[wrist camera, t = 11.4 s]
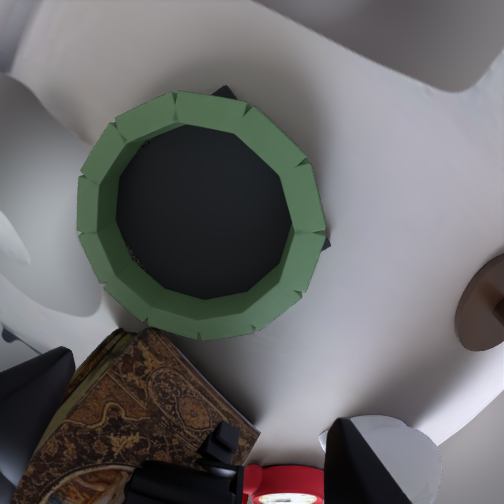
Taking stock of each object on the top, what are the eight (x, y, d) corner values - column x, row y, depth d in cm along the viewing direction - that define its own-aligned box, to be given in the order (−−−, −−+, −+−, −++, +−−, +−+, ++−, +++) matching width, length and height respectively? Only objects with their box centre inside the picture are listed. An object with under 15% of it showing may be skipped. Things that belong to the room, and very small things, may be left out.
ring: (178, 344, 22) (168, 365, 19) (63, 186, 17) (41, 195, 15) (360, 261, 18) (370, 280, 15) (235, 47, 13) (227, 35, 11)
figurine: (372, 385, 23) (402, 545, 9) (444, 407, 24) (480, 522, 10) (302, 443, 27) (298, 568, 13) (376, 458, 28) (388, 560, 14)
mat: (191, 316, 21) (189, 321, 21) (96, 193, 18) (91, 195, 18) (330, 242, 18) (331, 246, 17) (227, 85, 15) (225, 84, 14)
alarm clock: (320, 511, 30) (215, 521, 27) (311, 478, 35) (212, 485, 32) (350, 488, 26) (223, 504, 23) (337, 449, 31) (219, 458, 28)
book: (267, 438, 25) (139, 616, 7) (228, 428, 28) (111, 586, 11) (153, 318, 20) (-37, 547, 2) (122, 320, 23) (-39, 509, 6)
